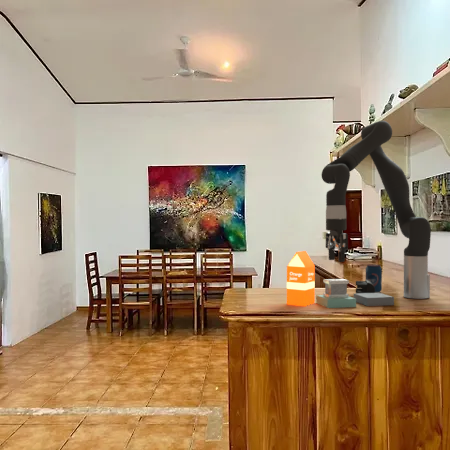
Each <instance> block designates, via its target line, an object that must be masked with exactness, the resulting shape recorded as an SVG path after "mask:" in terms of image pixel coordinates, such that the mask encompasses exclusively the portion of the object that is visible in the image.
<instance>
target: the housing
mask: <svg viewBox="0 0 450 450" xmlns="http://www.w3.org/2000/svg"><path fill="white" fill-rule="evenodd" d="M322 281H323V282H322V283H323V284H325V285H324V286H325V287H324V289H325V291H324V292H323V293H322V295H323V296H324V297H327V298H349V297H350V296H349V295H350V294H349V293H348V292H347V291H348V284H349V283H350V282H349V281H350V280H348V279H344V278H328V279H327V278H326V279H324V278H323V280H322Z"/></svg>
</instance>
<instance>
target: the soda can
mask: <svg viewBox="0 0 450 450" xmlns="http://www.w3.org/2000/svg"><path fill="white" fill-rule="evenodd" d="M382 269H383V268H382V267H381V264H376V263H375V264H373V263H372V264H371V263H370V264H367V265H366V267H365V280H369V281H370V282H371V283H372V284H373V285H374V287H375V293H381V292H382V290H383V283H382V282H383V273H382V272H383V270H382Z"/></svg>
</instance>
